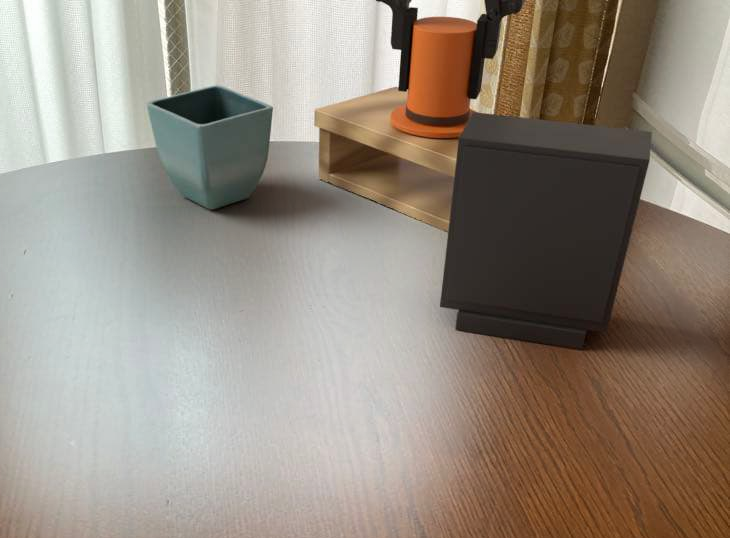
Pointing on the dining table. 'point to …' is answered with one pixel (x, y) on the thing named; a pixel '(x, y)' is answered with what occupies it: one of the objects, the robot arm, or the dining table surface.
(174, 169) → the flower pot
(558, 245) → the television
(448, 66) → the hat
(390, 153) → the stand
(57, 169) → the dining table surface
